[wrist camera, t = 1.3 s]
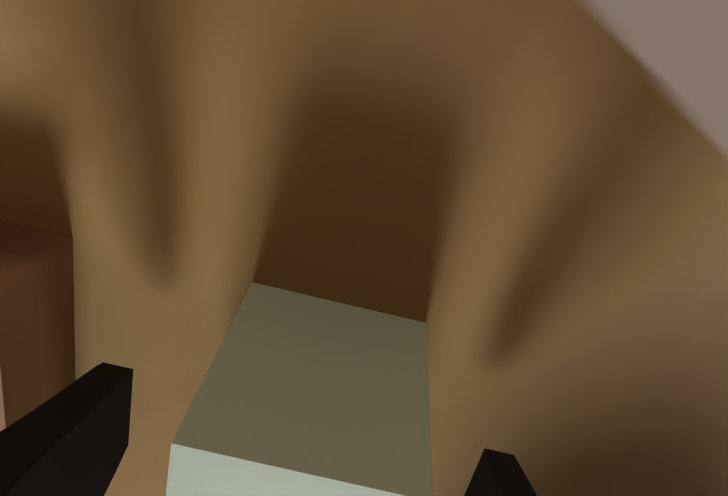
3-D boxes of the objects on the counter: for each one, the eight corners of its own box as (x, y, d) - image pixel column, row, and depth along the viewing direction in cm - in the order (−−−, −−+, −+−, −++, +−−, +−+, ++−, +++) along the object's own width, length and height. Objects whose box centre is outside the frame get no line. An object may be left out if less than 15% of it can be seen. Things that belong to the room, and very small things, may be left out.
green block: (425, 321, 13) (432, 501, 9) (384, 449, 15) (372, 654, 11) (252, 281, 13) (171, 443, 9) (230, 415, 15) (153, 607, 11)
